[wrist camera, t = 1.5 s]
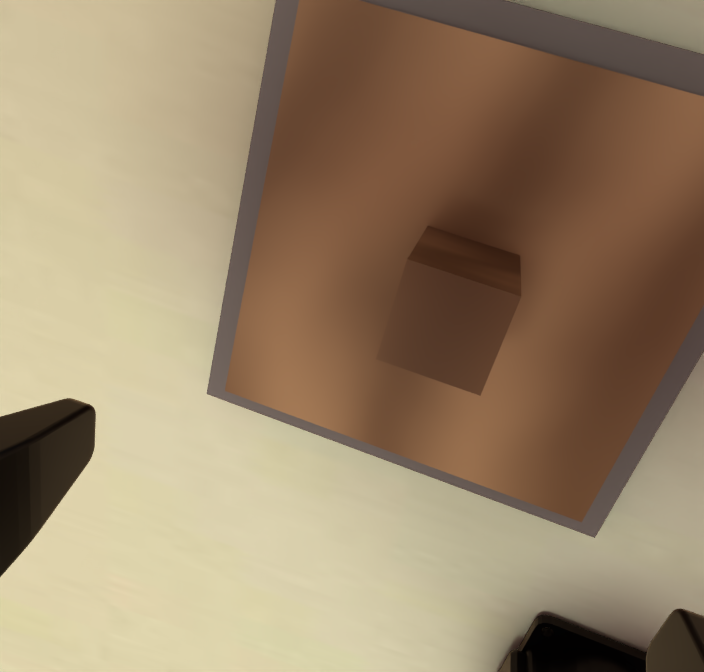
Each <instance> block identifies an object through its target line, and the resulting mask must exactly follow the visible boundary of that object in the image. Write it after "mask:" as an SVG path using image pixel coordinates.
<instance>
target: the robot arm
mask: <svg viewBox="0 0 704 672" xmlns="http://www.w3.org/2000/svg"><path fill="white" fill-rule="evenodd" d="M95 419H96V414H95V409H94V408H93V407H92V406H91V405H90V404H87V403H84V402H81V401H78V400H75V399H71V398H67V399H63V400H59V401H55V402H52V403H48V404H45V405H41V406H37V407H34V408H30V409H26V410H23V411H19V412H16V413H12V414H8V415H5V416H1V417H0V577H1V576H2V574H3V573H4V572H5V571H6V570H7V569H8V568H9V567H10V565H11V564H12V563H13V562H14V561H15V560H16V559H17V558H18V556H19V555H20V554H21V553H22V552H23V551H24V549H25V548H26V547H27V546H28V545H29V543H30V542H31V541H32V540H33V539H34V537H35V536H36V535H37V533H38V532H39V531H40V529H41V528H42V527H43V525H44V524H45V522H46V521H47V520H48V518H49V517H50V515H51V514H52V513H53V511H54V510H55V508H56V507H57V506H58V504H59V503H60V502H61V500H62V499H63V497H64V496H65V495H66V493H67V492H68V490H69V489H70V488H71V486H72V485H73V483H74V482H75V481H76V479H77V478H78V476H79V475H80V474H81V472H82V471H83V469H84V468H85V467H86V465H87V464H88V462H89V461H90V459H91V457H92V454H93V451H94V446H95ZM545 627H548V628H550V629H545ZM499 672H704V616H702V615H699V614H696V613H693V612H690V611H687V610H685V609H676V610H674V611H673V612H672V613H671V614H670V615H669V617H668V618H667V620H666V621H665V622H664V624H663V625H662V627H661V628H660V630H659V631H658V633H657V634H656V635H655V637H654V638H653V640H652V641H651V643H650V645H649V647H648V650H647V653H644V652H642V651H639V650H637V649H634V648H632V647H629V646H626V645H624V644H621V643H619V642H616V641H614V640H611V639H608V638H606V637H603V636H601V635H598V634H596V633H593V632H590V631H588V630H585V629H583V628H580V627H578V626H575V625H572V624H570V623H567V622H565V621H562V620H560V619H557V618H554V617H552V616H548V615H541V616H539V617H537V618H536V619H535V620H534V622H533V624H532V626H531V627H530V629H529V631H528V633H527V634H526V636H525V638H524V640H523V641H522V643H521V645H520V647H519V648H518V650H517V649H515V650H513V651H511V652H510V653H509V655H508V657H507V658H506V660H505V662H504V664H503V665H502V667H501V669H500V671H499Z"/></svg>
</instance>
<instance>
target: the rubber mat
mask: <svg viewBox="0 0 704 672" xmlns="http://www.w3.org/2000/svg"><path fill="white" fill-rule="evenodd" d="M360 1H363V2H367V3H371V4H374V5H378V6H381V7H385V8H388V9H392V10H396V11H399V12H403V13H406V14H410V15H413V16H417V17H421V18H424V19H428V20H431V21H435V22H438V23H442V24H446V25H449V26H453V27H456V28H460V29H464V30H467V31H471V32H474V33H478V34H481V35H485V36H489V37H492V38H496V39H499V40H503V41H506V42H510V43H514V44H517V45H521V46H524V47H528V48H531V49H535V50H539V51H542V52H546V53H549V54H553V55H557V56H560V57H564V58H567V59H571V60H574V61H578V62H582V63H585V64H589V65H592V66H596V67H599V68H603V69H607V70H610V71H614V72H617V73H621V74H624V75H628V76H632V77H635V78H639V79H642V80H646V81H650V82H653V83H657V84H660V85H664V86H667V87H671V88H675V89H678V90H682V91H685V92H689V93H692V94H696V95H700V96H703V97H704V54H700V53H696V52H693V51H689V50H685V49H682V48H678V47H674V46H671V45H667V44H663V43H660V42H656V41H652V40H648V39H645V38H641V37H637V36H634V35H630V34H626V33H623V32H619V31H615V30H612V29H608V28H604V27H601V26H597V25H593V24H590V23H586V22H582V21H579V20H575V19H571V18H567V17H564V16H560V15H556V14H553V13H549V12H545V11H542V10H538V9H534V8H531V7H527V6H523V5H520V4H516V3H512V2H509V1H505V0H360ZM298 4H299V0H276V3H275V9H274V14H273V20H272V26H271V31H270V37H269V43H268V48H267V54H266V60H265V65H264V71H263V77H262V83H261V88H260V94H259V100H258V105H257V111H256V117H255V122H254V128H253V134H252V139H251V145H250V151H249V156H248V162H247V168H246V173H245V179H244V185H243V191H242V196H241V202H240V208H239V213H238V219H237V225H236V230H235V236H234V242H233V247H232V253H231V259H230V264H229V270H228V276H227V282H226V287H225V293H224V299H223V304H222V310H221V316H220V321H219V327H218V333H217V338H216V344H215V350H214V355H213V361H212V367H211V373H210V378H209V384H208V390H207V394H209V395H211V396H214V397H217V398H219V399H222V400H225V401H227V402H230V403H233V404H236V405H238V406H241V407H244V408H246V409H249V410H252V411H254V412H257V413H260V414H262V415H265V416H268V417H271V418H273V419H276V420H279V421H281V422H284V423H287V424H289V425H292V426H295V427H298V428H300V429H303V430H306V431H308V432H311V433H314V434H316V435H319V436H322V437H324V438H327V439H330V440H333V441H335V442H338V443H341V444H343V445H346V446H349V447H351V448H354V449H357V450H360V451H362V452H365V453H368V454H370V455H373V456H376V457H378V458H381V459H384V460H387V461H389V462H392V463H395V464H397V465H400V466H403V467H405V468H408V469H411V470H413V471H416V472H419V473H422V474H424V475H427V476H430V477H432V478H435V479H438V480H440V481H443V482H446V483H449V484H451V485H454V486H457V487H459V488H462V489H465V490H467V491H470V492H473V493H476V494H478V495H481V496H484V497H486V498H489V499H492V500H494V501H497V502H500V503H502V504H505V505H508V506H511V507H513V508H516V509H519V510H521V511H524V512H527V513H529V514H532V515H535V516H538V517H540V518H543V519H546V520H548V521H551V522H554V523H556V524H559V525H562V526H564V527H567V528H570V529H573V530H575V531H578V532H581V533H583V534H586V535H589V536H591V537H594V538H595V536H596V535H597V533H598V531H599V530H600V528H601V526H602V524H603V523H604V521H605V519H606V518H607V516H608V514H609V512H610V511H611V509H612V507H613V506H614V504H615V502H616V500H617V499H618V497H619V495H620V494H621V492H622V490H623V488H624V487H625V485H626V483H627V482H628V480H629V478H630V476H631V475H632V473H633V471H634V470H635V468H636V466H637V464H638V463H639V461H640V459H641V457H642V456H643V454H644V452H645V451H646V449H647V447H648V445H649V444H650V442H651V440H652V439H653V437H654V435H655V433H656V432H657V430H658V428H659V427H660V425H661V423H662V421H663V420H664V418H665V416H666V415H667V413H668V411H669V409H670V408H671V406H672V404H673V403H674V401H675V399H676V397H677V396H678V394H679V392H680V391H681V389H682V387H683V385H684V384H685V382H686V380H687V379H688V377H689V375H690V373H691V372H692V370H693V368H694V367H695V365H696V363H697V361H698V360H699V358H700V356H701V355H702V353H703V351H704V306H703V307H702V309H701V311H700V313H699V314H698V316H697V318H696V320H695V322H694V323H693V325H692V327H691V329H690V330H689V332H688V334H687V336H686V338H685V339H684V341H683V343H682V345H681V346H680V348H679V350H678V352H677V354H676V355H675V357H674V359H673V361H672V362H671V364H670V366H669V368H668V370H667V371H666V373H665V375H664V377H663V378H662V380H661V382H660V384H659V386H658V387H657V389H656V391H655V393H654V395H653V396H652V398H651V400H650V402H649V403H648V405H647V407H646V409H645V411H644V412H643V414H642V416H641V418H640V419H639V421H638V423H637V425H636V427H635V428H634V430H633V432H632V434H631V435H630V437H629V439H628V441H627V443H626V444H625V446H624V448H623V450H622V451H621V453H620V455H619V457H618V459H617V460H616V462H615V464H614V466H613V467H612V469H611V471H610V473H609V475H608V476H607V478H606V480H605V482H604V484H603V485H602V487H601V489H600V491H599V492H598V494H597V496H596V498H595V500H594V501H593V503H592V505H591V507H590V508H589V510H588V512H587V514H586V516H585V517H584V519H583V521H582V522H579V521H577V520H574V519H571V518H568V517H566V516H563V515H560V514H558V513H555V512H552V511H549V510H547V509H544V508H541V507H539V506H536V505H533V504H530V503H528V502H525V501H522V500H520V499H517V498H514V497H511V496H509V495H506V494H503V493H501V492H498V491H495V490H492V489H490V488H487V487H484V486H482V485H479V484H476V483H473V482H471V481H468V480H465V479H463V478H460V477H457V476H455V475H452V474H449V473H446V472H444V471H441V470H438V469H436V468H433V467H430V466H427V465H425V464H422V463H419V462H417V461H414V460H411V459H408V458H406V457H403V456H400V455H398V454H395V453H392V452H389V451H387V450H384V449H381V448H379V447H376V446H373V445H370V444H368V443H365V442H362V441H360V440H357V439H354V438H351V437H349V436H346V435H343V434H341V433H338V432H335V431H332V430H330V429H327V428H324V427H322V426H319V425H316V424H314V423H311V422H308V421H305V420H303V419H300V418H297V417H295V416H292V415H289V414H286V413H284V412H281V411H278V410H276V409H273V408H270V407H267V406H265V405H262V404H259V403H257V402H254V401H251V400H248V399H246V398H243V397H240V396H238V395H235V394H232V393H229V392H227V391H225V387H226V381H227V376H228V371H229V366H230V360H231V355H232V350H233V345H234V339H235V334H236V329H237V324H238V318H239V313H240V308H241V303H242V297H243V292H244V287H245V282H246V277H247V271H248V266H249V261H250V256H251V250H252V245H253V240H254V235H255V229H256V224H257V219H258V214H259V208H260V203H261V198H262V193H263V187H264V182H265V177H266V172H267V166H268V161H269V156H270V151H271V146H272V140H273V135H274V130H275V125H276V119H277V114H278V109H279V104H280V98H281V93H282V88H283V83H284V77H285V72H286V67H287V62H288V56H289V51H290V46H291V41H292V36H293V30H294V25H295V20H296V15H297V9H298Z"/></svg>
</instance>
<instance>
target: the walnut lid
mask: <svg viewBox="0 0 704 672" xmlns="http://www.w3.org/2000/svg"><path fill="white" fill-rule="evenodd" d="M703 306H704V97H703V96H700V95H696V94H692V93H689V92H685V91H682V90H678V89H675V88H671V87H667V86H664V85H660V84H657V83H653V82H650V81H646V80H642V79H639V78H635V77H632V76H628V75H624V74H621V73H617V72H614V71H610V70H607V69H603V68H599V67H596V66H592V65H589V64H585V63H582V62H578V61H574V60H571V59H567V58H564V57H560V56H557V55H553V54H549V53H546V52H542V51H539V50H535V49H531V48H528V47H524V46H521V45H517V44H514V43H510V42H506V41H503V40H499V39H496V38H492V37H489V36H485V35H481V34H478V33H474V32H471V31H467V30H464V29H460V28H456V27H453V26H449V25H446V24H442V23H438V22H435V21H431V20H428V19H424V18H421V17H417V16H413V15H410V14H406V13H403V12H399V11H396V10H392V9H388V8H385V7H381V6H378V5H374V4H371V3H367V2H363V1H360V0H299V4H298V9H297V15H296V20H295V25H294V30H293V36H292V41H291V46H290V51H289V56H288V62H287V67H286V72H285V77H284V83H283V88H282V93H281V98H280V104H279V109H278V114H277V119H276V125H275V130H274V135H273V140H272V146H271V151H270V156H269V161H268V166H267V172H266V177H265V182H264V187H263V193H262V198H261V203H260V208H259V214H258V219H257V224H256V229H255V235H254V240H253V245H252V250H251V256H250V261H249V266H248V271H247V277H246V282H245V287H244V292H243V297H242V303H241V308H240V313H239V318H238V324H237V329H236V334H235V339H234V345H233V350H232V355H231V360H230V366H229V371H228V376H227V381H226V387H225V391H227V392H229V393H232V394H235V395H238V396H240V397H243V398H246V399H248V400H251V401H254V402H257V403H259V404H262V405H265V406H267V407H270V408H273V409H276V410H278V411H281V412H284V413H286V414H289V415H292V416H295V417H297V418H300V419H303V420H305V421H308V422H311V423H314V424H316V425H319V426H322V427H324V428H327V429H330V430H332V431H335V432H338V433H341V434H343V435H346V436H349V437H351V438H354V439H357V440H360V441H362V442H365V443H368V444H370V445H373V446H376V447H379V448H381V449H384V450H387V451H389V452H392V453H395V454H398V455H400V456H403V457H406V458H408V459H411V460H414V461H417V462H419V463H422V464H425V465H427V466H430V467H433V468H436V469H438V470H441V471H444V472H446V473H449V474H452V475H455V476H457V477H460V478H463V479H465V480H468V481H471V482H473V483H476V484H479V485H482V486H484V487H487V488H490V489H492V490H495V491H498V492H501V493H503V494H506V495H509V496H511V497H514V498H517V499H520V500H522V501H525V502H528V503H530V504H533V505H536V506H539V507H541V508H544V509H547V510H549V511H552V512H555V513H558V514H560V515H563V516H566V517H568V518H571V519H574V520H577V521H579V522H582V521H583V519H584V517H585V516H586V514H587V512H588V510H589V508H590V507H591V505H592V503H593V501H594V500H595V498H596V496H597V494H598V492H599V491H600V489H601V487H602V485H603V484H604V482H605V480H606V478H607V476H608V475H609V473H610V471H611V469H612V467H613V466H614V464H615V462H616V460H617V459H618V457H619V455H620V453H621V451H622V450H623V448H624V446H625V444H626V443H627V441H628V439H629V437H630V435H631V434H632V432H633V430H634V428H635V427H636V425H637V423H638V421H639V419H640V418H641V416H642V414H643V412H644V411H645V409H646V407H647V405H648V403H649V402H650V400H651V398H652V396H653V395H654V393H655V391H656V389H657V387H658V386H659V384H660V382H661V380H662V378H663V377H664V375H665V373H666V371H667V370H668V368H669V366H670V364H671V362H672V361H673V359H674V357H675V355H676V354H677V352H678V350H679V348H680V346H681V345H682V343H683V341H684V339H685V338H686V336H687V334H688V332H689V330H690V329H691V327H692V325H693V323H694V322H695V320H696V318H697V316H698V314H699V313H700V311H701V309H702V307H703Z"/></svg>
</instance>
